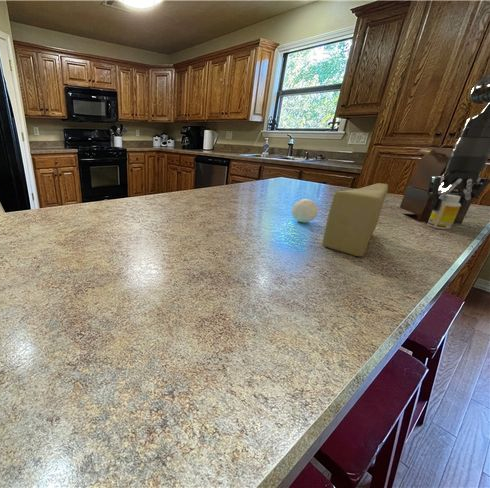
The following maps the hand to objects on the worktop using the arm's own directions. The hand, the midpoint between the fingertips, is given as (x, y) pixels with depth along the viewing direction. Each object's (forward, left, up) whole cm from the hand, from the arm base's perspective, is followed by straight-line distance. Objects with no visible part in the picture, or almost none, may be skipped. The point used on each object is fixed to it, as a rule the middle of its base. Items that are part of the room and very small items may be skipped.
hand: (445, 210), depth 84 cm
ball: (+42, +3, -6) cm, 42 cm away
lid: (+1, -11, +11) cm, 16 cm away
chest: (-4, -11, -6) cm, 13 cm away
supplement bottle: (0, 0, -6) cm, 6 cm away
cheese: (+33, +19, -6) cm, 38 cm away
